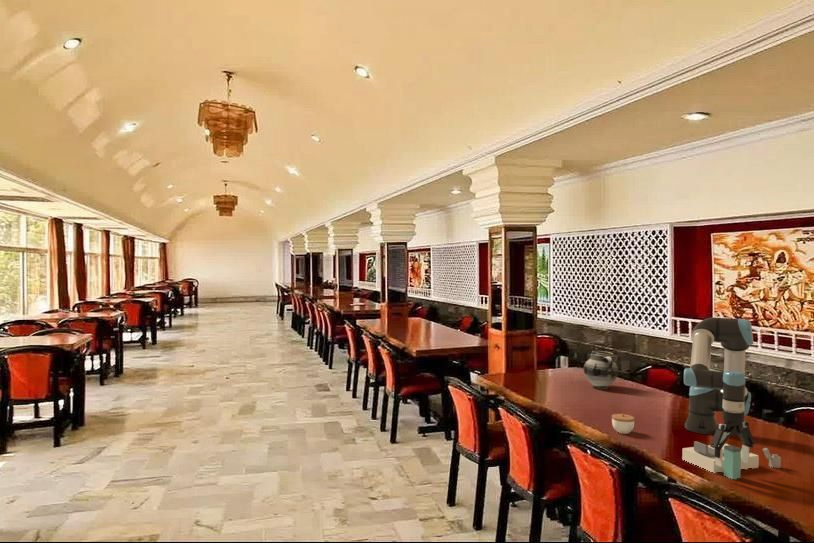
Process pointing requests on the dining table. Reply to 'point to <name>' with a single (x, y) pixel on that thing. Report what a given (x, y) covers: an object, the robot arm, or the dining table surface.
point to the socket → (709, 462)
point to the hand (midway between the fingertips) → (732, 464)
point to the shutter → (704, 449)
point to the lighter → (772, 459)
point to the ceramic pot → (601, 369)
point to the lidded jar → (623, 423)
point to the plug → (732, 461)
